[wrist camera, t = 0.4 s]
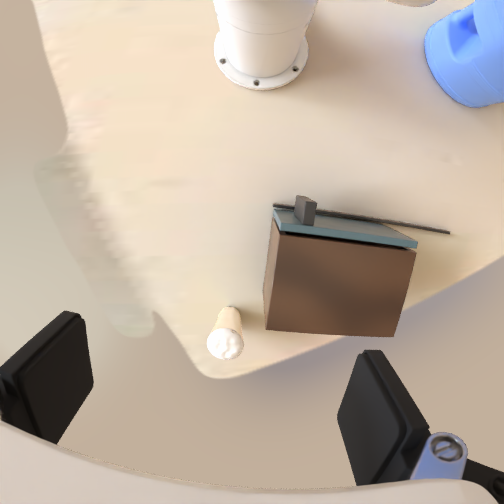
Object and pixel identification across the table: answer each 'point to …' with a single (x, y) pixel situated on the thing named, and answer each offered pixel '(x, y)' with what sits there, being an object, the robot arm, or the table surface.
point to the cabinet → (335, 282)
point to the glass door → (336, 225)
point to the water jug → (469, 53)
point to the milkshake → (226, 335)
